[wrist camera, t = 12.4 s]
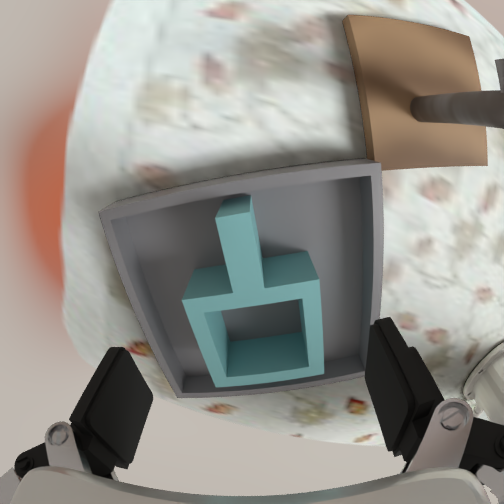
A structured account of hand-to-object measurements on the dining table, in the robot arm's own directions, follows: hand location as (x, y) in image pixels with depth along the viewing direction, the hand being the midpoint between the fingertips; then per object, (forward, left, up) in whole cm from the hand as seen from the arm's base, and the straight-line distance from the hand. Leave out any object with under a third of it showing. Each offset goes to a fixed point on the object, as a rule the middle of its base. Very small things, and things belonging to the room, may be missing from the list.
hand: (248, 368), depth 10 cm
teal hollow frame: (-3, 0, -13) cm, 13 cm away
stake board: (+10, -16, -13) cm, 23 cm away
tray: (-5, 0, -13) cm, 14 cm away
